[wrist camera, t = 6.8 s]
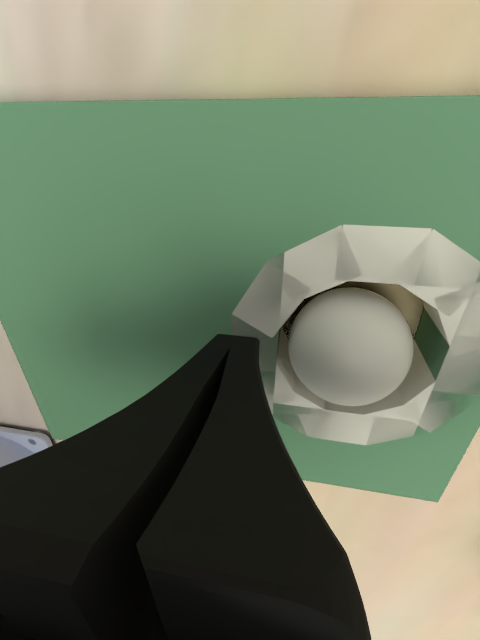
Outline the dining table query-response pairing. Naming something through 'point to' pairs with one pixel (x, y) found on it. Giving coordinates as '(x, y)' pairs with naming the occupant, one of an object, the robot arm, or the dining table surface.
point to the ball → (350, 346)
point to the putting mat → (246, 260)
